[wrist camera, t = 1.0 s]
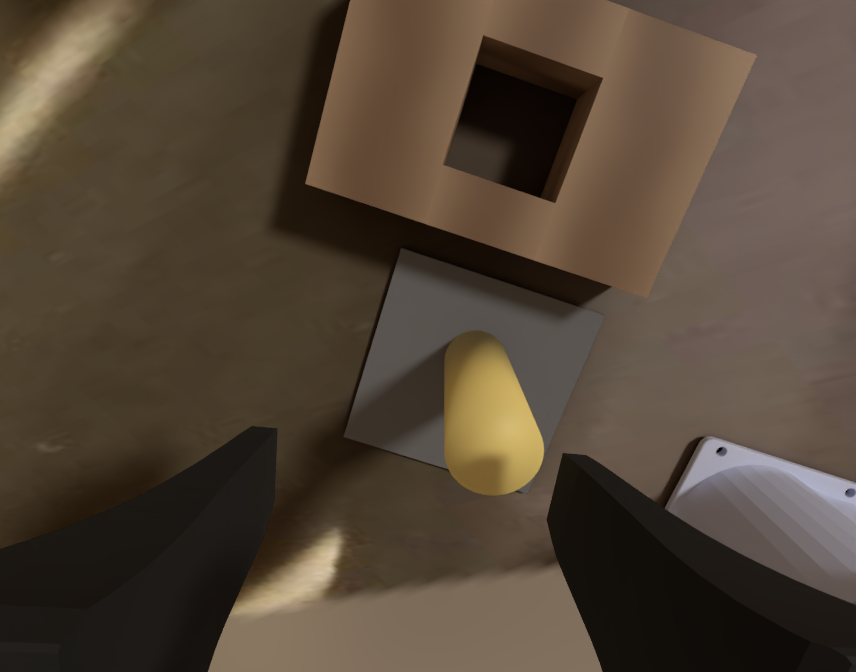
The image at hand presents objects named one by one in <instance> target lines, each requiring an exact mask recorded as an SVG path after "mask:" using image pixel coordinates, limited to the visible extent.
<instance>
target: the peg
mask: <svg viewBox="0 0 856 672" xmlns="http://www.w3.org/2000/svg"><path fill="white" fill-rule="evenodd" d="M444 455H445V461H446V464H447V467H448V469H449V471H450V473H451V474H452V476H453V477H454V478H455V479H456V481H458V482H459V483H460V484H461V485H462V486H464V487H465V488H467V489H469V490H471V491H473V492H476V493H479V494H483V495H503V494H508V493H511V492H514V491H516V490H518V489H520V488H522V487H523V486H525V485H526V484H527V483H528V482H530V481H531V480H532V478H533V477H534V476H535V475H536V473H537V472H538V470H539V468H540V466H541V463H542V461H543V456H544V444H543V439H542V436H541V434H540V431H539V429H538V426H537V424H536V422H535V419H534V417H533V415H532V412H531V410H530V408H529V405H528V403H527V401H526V398H525V396H524V394H523V391H522V389H521V387H520V384H519V382H518V379H517V377H516V375H515V372H514V370H513V368H512V365H511V363H510V361H509V358H508V356H507V354H506V351H505V349H504V347H503V345H502V343H501V342H500V341H499V340H498V339H497V338H496V337H495V336H493V335H491V334H490V333H487V332H484V331H468V332H465V333H462V334H460V335H458V336H457V337H456V338H455V339H453V340H452V342H451V343H450V344H449V346H448V347H447V350H446V353H445V358H444Z"/></svg>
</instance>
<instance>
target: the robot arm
mask: <svg viewBox="0 0 856 672" xmlns="http://www.w3.org/2000/svg"><path fill="white" fill-rule="evenodd" d="M720 447H723V448H722V450H721V451H720V452H718V453H716V451H717V449H718V448H720ZM276 451H277V428H266V427H255V426H252V427H250V428H248V429H247V430H245V431H244V432H242V433H241V434H239V435H238V436H236V437H235V438H233V439H232V440H230V441H229V442H227V443H226V444H225V445H223V446H222V447H220V448H219V449H217V450H216V451H214V452H213V453H211V454H210V455H208V456H206V457H205V458H203V459H202V460H200V461H199V462H197V463H196V464H194V465H192V466H191V467H189V468H187V469H186V470H184V471H182V472H181V473H179V474H177V475H175V476H174V477H172V478H170V479H169V480H167V481H165V482H164V483H162V484H160V485H158V486H156V487H155V488H153V489H151V490H149V491H147V492H145V493H143V494H141V495H139V496H137V497H135V498H133V499H131V500H129V501H127V502H124V503H122V504H120V505H118V506H116V507H114V508H111V509H109V510H107V511H104V512H102V513H99V514H97V515H94V516H92V517H89V518H87V519H84V520H82V521H79V522H77V523H74V524H72V525H69V526H67V527H64V528H62V529H59V530H57V531H54V532H51V533H48V534H45V535H42V536H39V537H36V538H33V539H31V540H28V541H25V542H21V543H18V544H15V545H12V546H8V547H5V548H2V549H0V672H208V669H209V666H210V663H211V660H212V657H213V654H214V651H215V648H216V646H217V643H218V640H219V638H220V635H221V633H222V630H223V628H224V625H225V623H226V621H227V619H228V616H229V614H230V612H231V610H232V607H233V605H234V603H235V601H236V598H237V596H238V594H239V592H240V589H241V587H242V585H243V583H244V580H245V578H246V576H247V574H248V571H249V569H250V567H251V565H252V562H253V560H254V558H255V555H256V553H257V551H258V549H259V546H260V544H261V542H262V539H263V537H264V534H265V530H266V527H267V524H268V521H269V517H270V514H271V510H272V507H273V503H274V500H275V476H276ZM848 489H849V490H848ZM847 490H848V491H847ZM846 491H847V492H846ZM845 492H846V493H845ZM547 523H548V527H549V531H550V535H551V539H552V543H553V546H554V550H555V554H556V557H557V559H558V562H559V564H560V567H561V569H562V572H563V574H564V577H565V579H566V582H567V584H568V586H569V589H570V591H571V593H572V596H573V598H574V600H575V603H576V605H577V608H578V610H579V612H580V615H581V617H582V620H583V622H584V624H585V627H586V629H587V631H588V634H589V636H590V638H591V641H592V643H593V646H594V649H595V651H596V654H597V657H598V659H599V662H600V665H601V668H602V671H603V672H856V483H855V482H852V481H849V480H846V479H843V478H840V477H836V476H833V475H830V474H827V473H824V472H821V471H818V470H815V469H812V468H809V467H805V466H802V465H799V464H796V463H793V462H790V461H787V460H784V459H781V458H777V457H774V456H771V455H768V454H765V453H762V452H759V451H756V450H753V449H750V448H746V447H743V446H740V445H737V444H734V443H731V442H728V441H725V440H722V439H718V438H715V437H711V436H708V437H705V438H703V439H702V440H701V441H700V442H699V444H698V446H697V448H696V450H695V452H694V453H693V455H692V457H691V459H690V461H689V463H688V465H687V467H686V469H685V471H684V472H683V474H682V476H681V478H680V480H679V482H678V484H677V486H676V488H675V490H674V491H673V493H672V495H671V497H670V499H669V501H668V503H667V505H666V507H665V508H663V507H662V506H660V505H659V504H657V503H656V502H654V501H653V500H651V499H650V498H648V497H647V496H645V495H644V494H643V493H641V492H640V491H638V490H637V489H635V488H634V487H633V486H631V485H630V484H628V483H627V482H626V481H624V480H623V479H621V478H620V477H619V476H617V475H616V474H614V473H613V472H612V471H610V470H609V469H607V468H606V467H604V466H603V465H601V464H600V463H598V462H597V461H595V460H593V459H592V458H590V457H588V456H586V455H578V454H567V453H563V455H562V459H561V463H560V467H559V471H558V475H557V479H556V484H555V488H554V492H553V496H552V500H551V504H550V508H549V512H548V516H547Z"/></svg>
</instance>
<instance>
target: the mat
mask: <svg viewBox="0 0 856 672" xmlns="http://www.w3.org/2000/svg"><path fill="white" fill-rule="evenodd" d="M604 317H605V315H603V314H600V313H597V312H594V311H591V310H588V309H585V308H582V307H579V306H576V305H573V304H570V303H567V302H564V301H561V300H558V299H555V298H552V297H549V296H546V295H543V294H540V293H537V292H534V291H531V290H528V289H525V288H522V287H519V286H516V285H513V284H510V283H507V282H504V281H501V280H498V279H495V278H492V277H489V276H486V275H483V274H480V273H477V272H474V271H471V270H468V269H465V268H462V267H459V266H456V265H453V264H450V263H447V262H444V261H441V260H438V259H435V258H432V257H429V256H426V255H422V254H419V253H416V252H413V251H410V250H407V249H404V248H401V250H400V254H399V257H398V260H397V263H396V267H395V270H394V273H393V277H392V280H391V283H390V286H389V290H388V293H387V296H386V299H385V303H384V306H383V309H382V312H381V316H380V319H379V322H378V326H377V329H376V332H375V335H374V339H373V342H372V345H371V348H370V352H369V355H368V358H367V361H366V365H365V368H364V371H363V375H362V378H361V381H360V384H359V388H358V391H357V394H356V397H355V401H354V404H353V407H352V410H351V414H350V417H349V420H348V424H347V427H346V430H345V433H344V437H345V438H348V439H352V440H355V441H358V442H361V443H365V444H368V445H371V446H374V447H378V448H381V449H384V450H387V451H390V452H394V453H397V454H400V455H403V456H407V457H410V458H413V459H416V460H420V461H423V462H426V463H429V464H432V465H436V466H439V467H442V468H445V469H448V467H447V464H446V461H445V455H444V358H445V353H446V350H447V347H448V346H449V344H450V343H451V342H452V340H453V339H455V338H456V337H457V336H458V335H460V334H462V333H465V332H468V331H484V332H487V333H490V334H491V335H493V336H495V337H496V338H497V339H498V340H499V341H500V342H501V343H502V345H503V347H504V349H505V351H506V354H507V356H508V358H509V361H510V363H511V365H512V368H513V370H514V372H515V375H516V377H517V379H518V382H519V384H520V387H521V389H522V391H523V394H524V396H525V398H526V401H527V403H528V405H529V408H530V410H531V412H532V415H533V417H534V419H535V422H536V424H537V426H538V429H539V431H540V434H541V436H542V439H543V444H544V455H545V453H546V451H547V449H548V446H549V444H550V442H551V439H552V437H553V435H554V432H555V430H556V428H557V426H558V423H559V421H560V419H561V416H562V414H563V412H564V409H565V407H566V405H567V403H568V400H569V398H570V396H571V393H572V391H573V389H574V386H575V384H576V382H577V380H578V377H579V375H580V373H581V370H582V368H583V366H584V363H585V361H586V359H587V357H588V354H589V352H590V350H591V347H592V345H593V343H594V340H595V338H596V336H597V334H598V331H599V329H600V327H601V324H602V322H603V320H604ZM543 458H544V456H543ZM536 474H537V473H536ZM535 476H536V475H535ZM535 476H534V477H533V478H532V480H531V481H530V482H528V483H527V484H526V485H525V486H523V487H522V488H520V489H518V490H517V491H520V492H523V493H526V494H528V492H529V490H530V488H531V485H532V483H533V481H534V478H535Z"/></svg>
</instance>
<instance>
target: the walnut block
mask: <svg viewBox="0 0 856 672" xmlns="http://www.w3.org/2000/svg"><path fill="white" fill-rule="evenodd" d="M756 56H757V55H755V54H752V53H749V52H746V51H744V50H741V49H738V48H736V47H733V46H730V45H727V44H725V43H722V42H719V41H716V40H714V39H711V38H708V37H706V36H703V35H700V34H697V33H695V32H692V31H689V30H686V29H684V28H681V27H678V26H675V25H673V24H670V23H667V22H665V21H662V20H659V19H656V18H654V17H651V16H648V15H645V14H643V13H640V12H637V11H634V10H632V9H629V8H626V7H624V6H621V5H618V4H615V3H613V2H610V1H607V0H350V3H349V7H348V11H347V15H346V19H345V24H344V28H343V32H342V36H341V40H340V44H339V48H338V52H337V56H336V60H335V64H334V69H333V73H332V77H331V81H330V85H329V89H328V93H327V97H326V101H325V105H324V109H323V113H322V118H321V122H320V126H319V130H318V134H317V138H316V142H315V146H314V150H313V154H312V158H311V163H310V167H309V171H308V175H307V179H306V183H305V184H307V185H310V186H313V187H316V188H319V189H322V190H325V191H328V192H331V193H334V194H337V195H340V196H343V197H346V198H349V199H352V200H355V201H358V202H361V203H364V204H367V205H370V206H373V207H376V208H379V209H382V210H385V211H388V212H391V213H394V214H397V215H400V216H403V217H406V218H409V219H412V220H415V221H418V222H421V223H424V224H427V225H430V226H433V227H436V228H439V229H442V230H445V231H448V232H451V233H454V234H457V235H460V236H463V237H466V238H469V239H472V240H475V241H478V242H481V243H484V244H487V245H490V246H493V247H496V248H499V249H502V250H505V251H508V252H510V253H513V254H516V255H519V256H522V257H525V258H528V259H531V260H534V261H537V262H540V263H543V264H546V265H549V266H552V267H555V268H558V269H561V270H564V271H567V272H570V273H573V274H576V275H579V276H582V277H585V278H588V279H591V280H594V281H597V282H600V283H603V284H606V285H609V286H612V287H615V288H618V289H621V290H624V291H627V292H630V293H633V294H636V295H639V296H642V297H645V298H647V296H648V294H649V292H650V290H651V288H652V285H653V283H654V281H655V279H656V277H657V274H658V272H659V270H660V268H661V266H662V263H663V261H664V259H665V257H666V255H667V252H668V250H669V248H670V246H671V244H672V241H673V239H674V237H675V235H676V233H677V230H678V228H679V226H680V224H681V222H682V219H683V217H684V215H685V213H686V211H687V208H688V206H689V204H690V202H691V200H692V197H693V195H694V193H695V191H696V189H697V186H698V184H699V182H700V180H701V177H702V175H703V173H704V171H705V169H706V166H707V164H708V162H709V160H710V158H711V155H712V153H713V151H714V149H715V147H716V144H717V142H718V140H719V138H720V136H721V133H722V131H723V129H724V127H725V125H726V122H727V120H728V118H729V116H730V114H731V111H732V109H733V107H734V105H735V103H736V100H737V98H738V96H739V94H740V92H741V89H742V87H743V85H744V83H745V81H746V78H747V76H748V74H749V72H750V70H751V67H752V65H753V63H754V61H755V59H756ZM477 64H478V65H481V66H484V67H486V68H489V69H492V70H495V71H498V72H501V73H503V74H506V75H509V76H512V77H515V78H518V79H520V80H523V81H526V82H529V83H532V84H534V85H537V86H540V87H543V88H546V89H549V90H551V91H554V92H557V93H560V94H563V95H566V96H568V97H571V98H574V99H577V101H576V103H575V106H574V109H573V112H572V114H571V117H570V120H569V122H568V125H567V128H566V130H565V133H564V136H563V138H562V141H561V144H560V146H559V149H558V152H557V154H556V157H555V160H554V163H553V165H552V168H551V171H550V173H549V176H548V179H547V181H546V184H545V187H544V189H543V192H542V195H541V197H540V198H538V197H535V196H532V195H530V194H527V193H524V192H521V191H518V190H515V189H512V188H509V187H506V186H503V185H500V184H497V183H494V182H492V181H489V180H486V179H483V178H480V177H477V176H474V175H471V174H468V173H465V172H462V171H459V170H456V169H453V168H451V167H448V166H445V163H446V160H447V157H448V154H449V150H450V147H451V144H452V141H453V138H454V135H455V131H456V128H457V125H458V122H459V119H460V116H461V112H462V109H463V106H464V103H465V100H466V97H467V93H468V90H469V87H470V84H471V81H472V78H473V74H474V71H475V68H476V65H477Z"/></svg>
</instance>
